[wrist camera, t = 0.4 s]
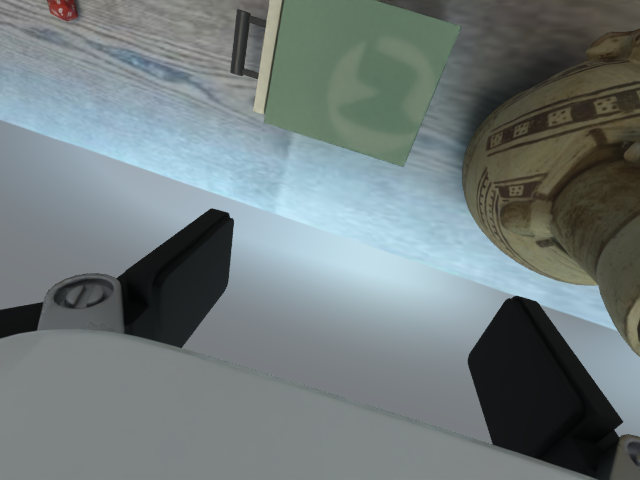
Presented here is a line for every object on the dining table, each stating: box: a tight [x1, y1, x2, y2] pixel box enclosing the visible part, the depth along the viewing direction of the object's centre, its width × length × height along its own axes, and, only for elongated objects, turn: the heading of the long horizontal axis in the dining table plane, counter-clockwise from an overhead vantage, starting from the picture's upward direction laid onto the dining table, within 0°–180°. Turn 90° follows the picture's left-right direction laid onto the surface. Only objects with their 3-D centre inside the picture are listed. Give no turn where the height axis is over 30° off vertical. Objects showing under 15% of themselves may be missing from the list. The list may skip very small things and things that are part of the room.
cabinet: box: [264, 0, 461, 167], centre depth 34 cm, size 16×13×10 cm
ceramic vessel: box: [462, 29, 640, 356], centre depth 25 cm, size 19×21×30 cm
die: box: [47, 0, 78, 21], centre depth 39 cm, size 3×3×3 cm
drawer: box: [230, 0, 284, 114], centre depth 34 cm, size 19×12×8 cm, turn 75°
